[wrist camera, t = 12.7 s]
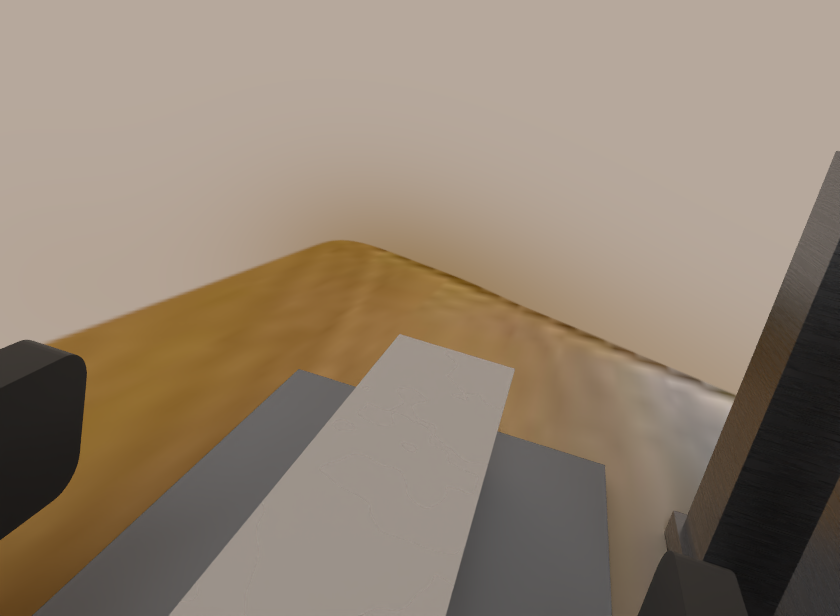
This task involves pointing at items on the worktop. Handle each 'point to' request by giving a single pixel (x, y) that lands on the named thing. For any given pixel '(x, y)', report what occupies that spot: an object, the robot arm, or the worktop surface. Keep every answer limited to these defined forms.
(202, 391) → the worktop surface
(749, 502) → the rack
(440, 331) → the worktop surface
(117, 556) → the mat
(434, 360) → the rail
